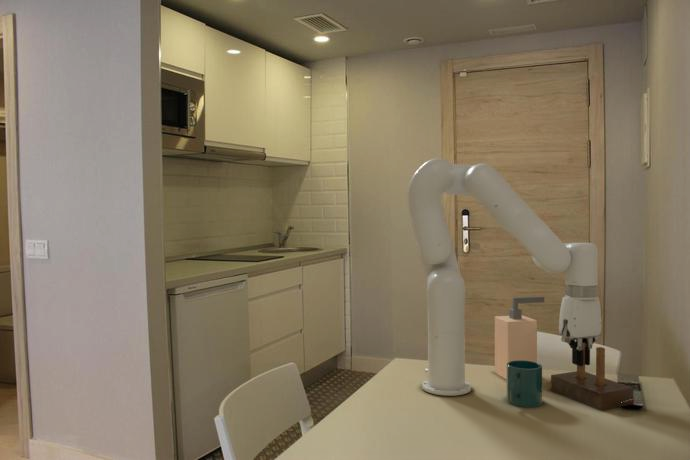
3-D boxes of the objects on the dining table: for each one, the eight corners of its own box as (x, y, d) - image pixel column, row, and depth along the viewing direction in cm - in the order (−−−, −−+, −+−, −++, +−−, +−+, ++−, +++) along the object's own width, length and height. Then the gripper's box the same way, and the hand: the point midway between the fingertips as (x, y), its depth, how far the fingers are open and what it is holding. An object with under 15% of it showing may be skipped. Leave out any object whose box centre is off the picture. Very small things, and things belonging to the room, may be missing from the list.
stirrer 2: (595, 400, 141) (596, 347, 140) (600, 399, 141) (600, 346, 141) (600, 402, 139) (600, 348, 139) (604, 401, 140) (605, 348, 139)
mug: (514, 393, 146) (514, 358, 146) (546, 400, 141) (546, 363, 141) (495, 406, 137) (495, 368, 137) (529, 413, 132) (529, 374, 132)
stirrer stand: (550, 390, 149) (550, 374, 149) (581, 385, 153) (581, 370, 153) (600, 410, 134) (600, 393, 134) (633, 404, 137) (633, 387, 137)
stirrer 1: (576, 392, 146) (576, 342, 146) (580, 392, 147) (581, 341, 146) (580, 394, 145) (581, 343, 145) (585, 393, 146) (585, 342, 145)
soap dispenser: (508, 381, 157) (508, 300, 156) (494, 372, 166) (494, 296, 165) (551, 378, 159) (551, 299, 159) (535, 369, 168) (535, 294, 167)
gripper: (593, 288, 152) (593, 357, 152) (546, 291, 146) (546, 364, 146) (616, 291, 145) (616, 364, 145) (568, 295, 139) (567, 371, 139)
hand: (580, 363), depth 146 cm, fingers closed on stirrer 1, 1 cm apart
